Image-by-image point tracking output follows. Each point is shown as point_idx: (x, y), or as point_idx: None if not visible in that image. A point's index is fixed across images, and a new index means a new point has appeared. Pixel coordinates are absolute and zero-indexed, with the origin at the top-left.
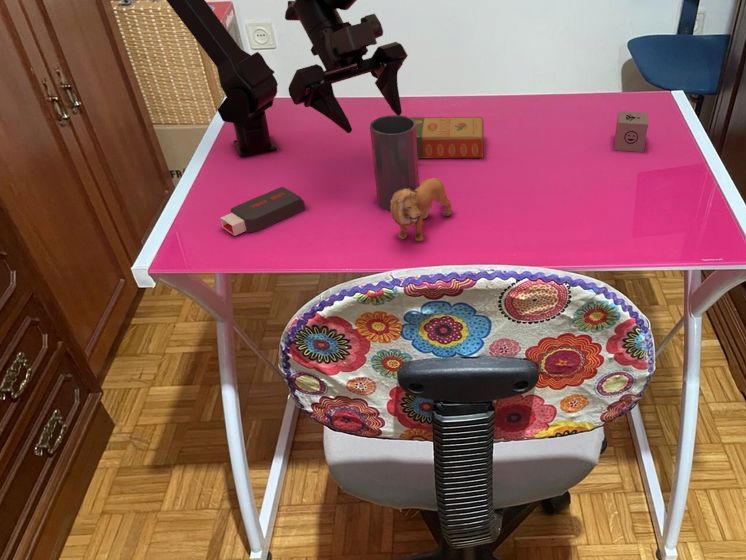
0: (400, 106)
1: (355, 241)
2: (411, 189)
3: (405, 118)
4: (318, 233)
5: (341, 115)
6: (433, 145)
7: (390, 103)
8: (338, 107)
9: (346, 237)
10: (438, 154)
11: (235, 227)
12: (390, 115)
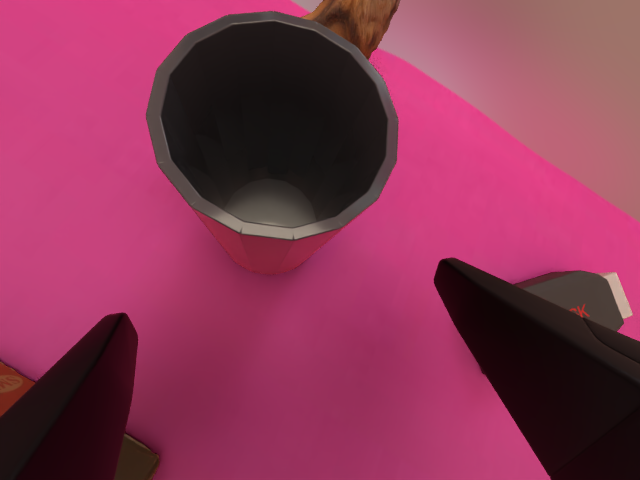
0: (82, 340)
1: (412, 140)
2: (327, 11)
3: (171, 156)
4: (460, 203)
5: (526, 295)
6: (9, 402)
7: (112, 432)
8: (571, 329)
9: (421, 161)
10: (21, 383)
11: (604, 273)
12: (233, 225)
